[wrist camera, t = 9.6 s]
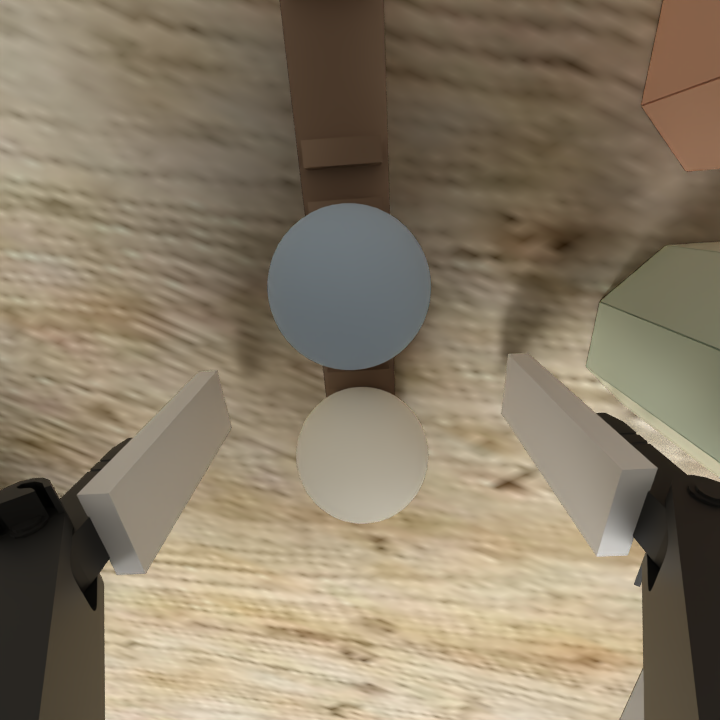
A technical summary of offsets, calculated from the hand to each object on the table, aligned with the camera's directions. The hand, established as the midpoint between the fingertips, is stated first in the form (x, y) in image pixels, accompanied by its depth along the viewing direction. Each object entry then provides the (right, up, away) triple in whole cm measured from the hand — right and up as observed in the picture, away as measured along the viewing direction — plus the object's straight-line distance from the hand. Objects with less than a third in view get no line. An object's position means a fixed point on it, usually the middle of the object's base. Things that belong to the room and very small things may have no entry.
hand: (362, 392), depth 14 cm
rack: (0, +5, 0) cm, 5 cm away
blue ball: (0, +4, -4) cm, 5 cm away
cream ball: (0, -1, -2) cm, 2 cm away
